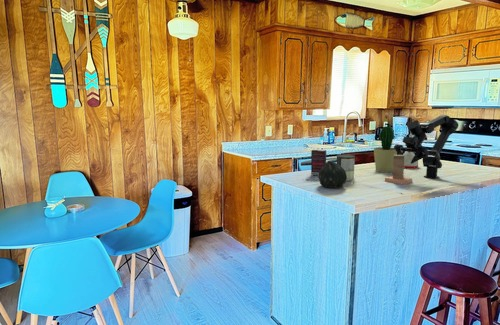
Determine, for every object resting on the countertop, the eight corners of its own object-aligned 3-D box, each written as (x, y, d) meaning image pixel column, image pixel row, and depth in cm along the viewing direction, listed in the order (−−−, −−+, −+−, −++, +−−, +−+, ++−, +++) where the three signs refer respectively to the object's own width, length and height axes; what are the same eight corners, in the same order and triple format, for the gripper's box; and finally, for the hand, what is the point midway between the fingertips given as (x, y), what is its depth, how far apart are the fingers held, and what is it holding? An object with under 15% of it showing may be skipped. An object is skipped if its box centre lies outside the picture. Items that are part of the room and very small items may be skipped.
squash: (350, 174, 189) (332, 154, 189) (352, 181, 175) (333, 159, 175) (330, 190, 193) (312, 170, 193) (330, 198, 179) (311, 176, 179)
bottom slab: (395, 181, 199) (395, 178, 198) (414, 185, 189) (415, 182, 188) (382, 184, 192) (382, 181, 192) (401, 188, 182) (402, 185, 182)
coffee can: (332, 179, 203) (333, 155, 201) (341, 176, 210) (342, 154, 208) (348, 182, 196) (349, 157, 194) (357, 179, 203) (358, 155, 201)
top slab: (395, 179, 197) (396, 175, 197) (412, 182, 189) (412, 178, 188) (384, 181, 192) (385, 177, 191) (400, 184, 183) (401, 180, 183)
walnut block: (393, 176, 194) (394, 154, 192) (403, 177, 191) (404, 155, 190) (392, 178, 189) (393, 155, 188) (402, 178, 187) (403, 156, 185)
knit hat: (399, 168, 237) (400, 146, 235) (394, 165, 251) (395, 144, 248) (420, 168, 235) (422, 147, 232) (414, 165, 248) (416, 144, 246)
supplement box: (326, 175, 216) (326, 150, 214) (324, 176, 212) (325, 150, 209) (312, 174, 220) (313, 149, 217) (310, 175, 215) (311, 150, 213)
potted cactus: (400, 170, 230) (403, 125, 225) (392, 173, 219) (395, 126, 214) (377, 167, 240) (380, 124, 235) (368, 170, 229) (371, 125, 224)
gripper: (396, 130, 198) (383, 151, 194) (427, 132, 182) (413, 154, 178) (404, 143, 203) (391, 163, 199) (435, 145, 187) (421, 168, 184)
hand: (403, 162), depth 190 cm, fingers open, 9 cm apart
